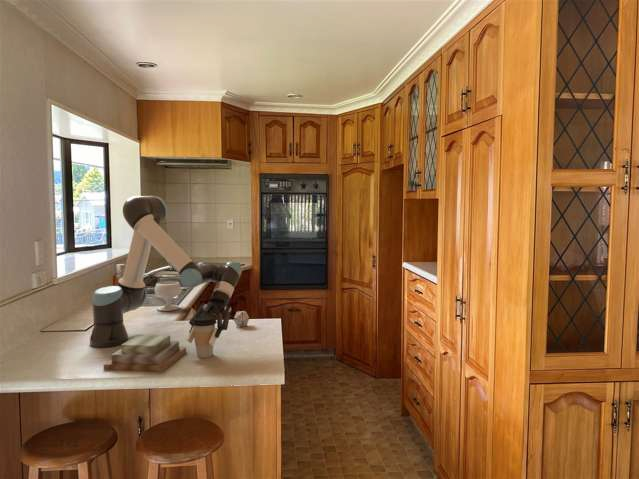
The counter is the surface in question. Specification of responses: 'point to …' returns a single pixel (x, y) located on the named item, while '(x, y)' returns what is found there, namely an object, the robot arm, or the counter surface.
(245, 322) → the game die
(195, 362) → the counter surface
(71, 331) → the counter surface
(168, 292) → the chalice
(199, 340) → the coffee cup
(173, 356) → the tower base
